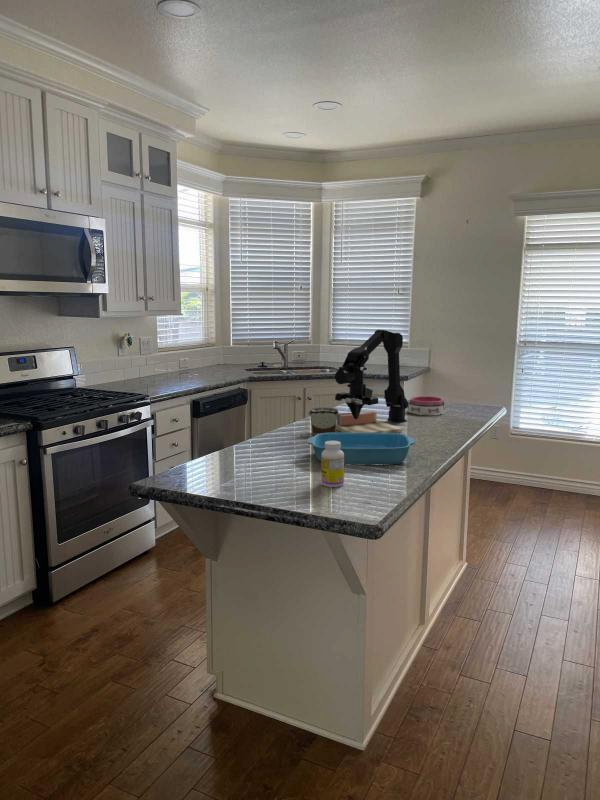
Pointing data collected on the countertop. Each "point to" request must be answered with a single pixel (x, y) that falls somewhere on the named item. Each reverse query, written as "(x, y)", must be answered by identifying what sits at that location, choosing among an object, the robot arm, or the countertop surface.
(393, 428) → the latch board
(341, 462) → the supplement bottle
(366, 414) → the latch bar
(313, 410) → the food container
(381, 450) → the casserole dish
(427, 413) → the dog bowl
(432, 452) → the countertop surface
